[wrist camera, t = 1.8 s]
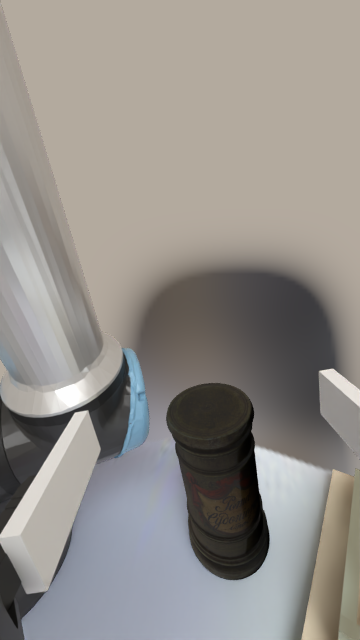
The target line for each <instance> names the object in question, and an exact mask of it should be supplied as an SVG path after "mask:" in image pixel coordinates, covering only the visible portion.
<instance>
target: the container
mask: <svg viewBox="0 0 360 640" xmlns="http://www.w3.org/2000/svg"><path fill="white" fill-rule="evenodd" d="M253 418H254V410H253V406H252V403H251V401H250V399H249V398H248V396H247V395H246V394H245V393H244V392H243V391H241V390H240V389H238V388H236V387H233V386H231V385H227V384H220V383H209V384H201V385H197V386H194V387H191V388H188V389H186V390H185V391H183V392H181V393H180V394H179V395H177V396H176V397H175V398H174V399H173V400H172V402H171V403H170V405H169V407H168V411H167V417H166V421H167V426H168V428H169V430H170V432H171V433H172V436H173V438H174V440H175V442H176V443H175V449H176V454H177V456H178V459H179V463H180V468H181V472H182V477H183V481H184V486H185V490H186V495H187V509H188V513H189V517H188V525H189V535H190V540H191V545H192V548H193V550H194V552H195V554H196V556H197V558H198V559H199V561H200V562H201V563H202V564H203V566H204V567H205V568H206V569H208V570H209V571H210V572H211V573H213V574H215V575H216V576H218V577H221V578H224V579H229V580H239V579H244V578H246V577H248V576H250V575H252V574H254V573H255V572H256V571H257V570H258V569H259V568H260V567H261V565H262V564H263V562H264V560H265V558H266V556H267V553H268V549H269V540H270V539H269V530H268V525H267V520H266V516H265V513H264V510H263V508H262V499H261V496H260V493H259V488H258V479H257V470H256V461H255V453H254V448H255V441H254V437H253V435H252V433H251V430H252V422H253Z"/></svg>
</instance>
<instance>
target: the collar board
mask: <svg viewBox="0 0 360 640" xmlns="http://www.w3.org/2000/svg"><path fill="white" fill-rule="evenodd" d="M301 640H360V470H359V469H355V477H354V476H351V475H348V474H345V473H342V472H339V471H336V470H333V472H332V477H331V483H330V488H329V494H328V499H327V504H326V510H325V515H324V520H323V526H322V531H321V537H320V542H319V547H318V553H317V558H316V564H315V569H314V574H313V580H312V585H311V590H310V596H309V601H308V607H307V612H306V617H305V623H304V628H303V633H302V639H301Z"/></svg>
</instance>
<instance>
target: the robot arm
mask: <svg viewBox="0 0 360 640" xmlns="http://www.w3.org/2000/svg"><path fill="white" fill-rule="evenodd" d="M0 359H1V361H2V363H3V364H4V366H5V367H6V369H7V370H6V371H5V373H4V375H3V377H2V380H1V383H0V640H24V635H23V629H22V623H21V618H22V617H23V616H24V615H25V614H26V613H27V612H28V611H29V610H30V609H31V608H32V607H33V606H34V605H35V604H36V602H37V601H38V600H39V599H40V598H41V596H42V595H43V594H44V592H46V591H48V589H49V586H50V584H51V582H52V581H53V579H54V578H55V576H56V574H57V572H58V571H59V569H60V567H61V565H62V563H63V561H64V558H65V556H66V553H67V550H68V547H69V543H70V539H71V531H72V525H73V522H74V520H75V517H76V514H77V512H78V509H79V506H80V504H81V501H82V498H83V496H84V493H85V490H86V488H87V485H88V482H89V480H90V477H91V474H92V472H93V469H94V466H95V465H96V464H98V463H101V462H104V461H106V460H109V459H112V458H118V457H120V456H122V455H123V454H124V453H125V452H127V451H130V450H132V449H134V448H136V447H138V446H140V445H141V444H143V443H144V441H145V440H146V438H147V436H148V433H149V409H148V402H147V398H146V396H145V384H144V380H143V376H142V372H141V368H140V364H139V361H138V359H137V356H136V354H135V353H134V351H133V350H132V349H130V348H121V346H120V344H119V343H118V341H117V340H116V339H115V338H114V337H112V336H111V335H109V334H108V333H106V332H103V331H101V329H100V326H99V323H98V320H97V316H96V313H95V310H94V307H93V303H92V300H91V297H90V293H89V290H88V287H87V284H86V281H85V277H84V274H83V270H82V267H81V264H80V261H79V257H78V254H77V251H76V248H75V244H74V241H73V238H72V235H71V231H70V228H69V225H68V222H67V218H66V215H65V211H64V209H63V205H62V202H61V198H60V195H59V192H58V189H57V185H56V182H55V179H54V175H53V172H52V169H51V166H50V163H49V159H48V156H47V153H46V149H45V146H44V143H43V139H42V136H41V133H40V130H39V126H38V123H37V120H36V117H35V113H34V110H33V107H32V103H31V100H30V97H29V93H28V90H27V87H26V84H25V80H24V77H23V74H22V70H21V67H20V64H19V61H18V57H17V54H16V51H15V48H14V45H13V41H12V38H11V34H10V31H9V28H8V25H7V21H6V18H5V15H4V11H3V9H2V5H1V2H0ZM319 387H320V412H321V414H322V416H323V417H324V418H325V419H326V420H327V421H328V423H329V424H330V425H331V426H332V427H333V429H334V430H335V431H336V432H337V433H338V434H339V436H340V437H341V438H342V439H343V440H344V441H345V443H346V444H347V445H348V446H349V447H350V448H351V450H352V451H353V452H354V453H355V454H356V455H357V457H358V458H359V459H360V390H359V389H358V388H357V387H355V386H354V385H353V384H352V383H350V382H349V381H348V380H346V379H345V378H344V377H343V376H341V375H340V374H339V373H338V372H336V371H335V370H334V369H328V370H323V371H319Z"/></svg>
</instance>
